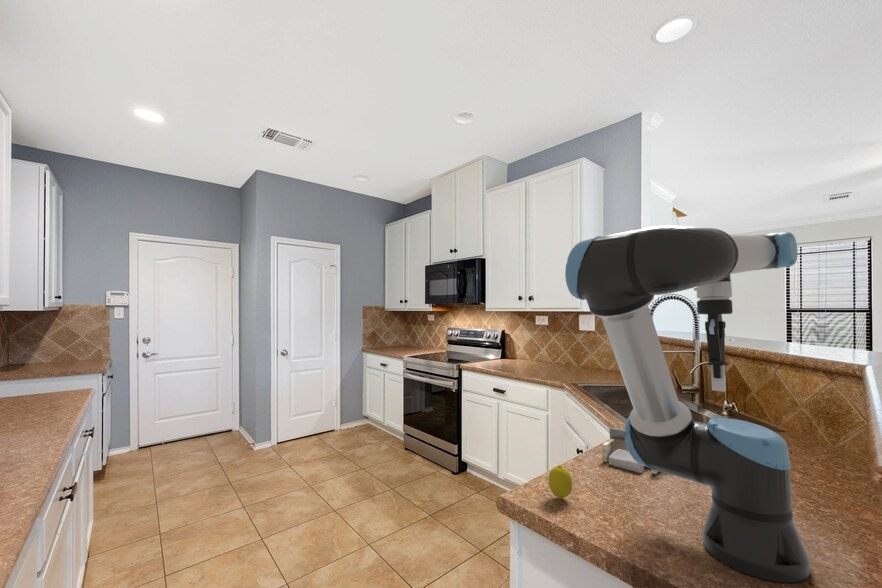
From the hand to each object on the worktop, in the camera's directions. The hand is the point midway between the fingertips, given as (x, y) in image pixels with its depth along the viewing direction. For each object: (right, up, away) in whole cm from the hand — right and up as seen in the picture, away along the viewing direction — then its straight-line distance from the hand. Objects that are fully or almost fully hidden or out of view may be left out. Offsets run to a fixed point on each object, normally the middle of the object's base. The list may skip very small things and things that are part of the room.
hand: (718, 390), depth 99 cm
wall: (-11, -26, +18) cm, 33 cm away
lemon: (-43, -25, -6) cm, 50 cm away
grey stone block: (-17, -26, +13) cm, 34 cm away
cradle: (-15, -25, +14) cm, 33 cm away
